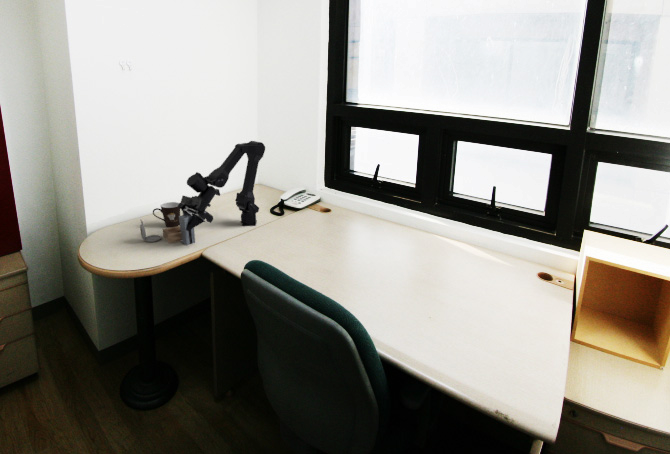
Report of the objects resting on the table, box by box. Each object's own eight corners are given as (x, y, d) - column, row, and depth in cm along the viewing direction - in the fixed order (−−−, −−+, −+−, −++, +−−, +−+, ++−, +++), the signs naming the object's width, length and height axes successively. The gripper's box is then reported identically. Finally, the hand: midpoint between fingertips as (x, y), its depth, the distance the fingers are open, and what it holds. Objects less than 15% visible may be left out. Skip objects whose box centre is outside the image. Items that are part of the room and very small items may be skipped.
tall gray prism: (189, 240, 193) (187, 213, 189) (195, 242, 191) (192, 216, 187) (181, 242, 190) (178, 216, 186) (186, 245, 188) (184, 218, 184)
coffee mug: (185, 222, 214) (183, 202, 210) (177, 228, 206) (175, 208, 202) (162, 221, 215) (159, 201, 211) (153, 227, 207) (150, 206, 203)
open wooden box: (185, 232, 202) (185, 224, 201) (192, 238, 195) (191, 231, 194) (163, 236, 197) (162, 229, 195) (169, 243, 190) (168, 235, 189)
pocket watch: (164, 238, 194) (161, 216, 191) (149, 245, 187) (146, 222, 184) (150, 235, 198) (147, 213, 194) (135, 241, 190) (132, 219, 187)
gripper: (179, 184, 191) (158, 214, 187) (204, 192, 180) (183, 225, 176) (196, 197, 199) (177, 227, 195) (222, 206, 188) (202, 238, 184)
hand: (184, 229), depth 187 cm, fingers closed on tall gray prism, 4 cm apart
